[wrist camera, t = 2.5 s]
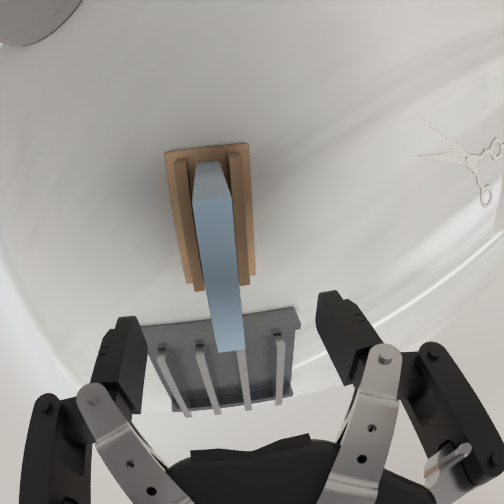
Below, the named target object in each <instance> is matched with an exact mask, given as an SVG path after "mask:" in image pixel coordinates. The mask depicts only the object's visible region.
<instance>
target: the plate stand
mask: <svg viewBox="0 0 504 504" xmlns="http://www.w3.org/2000/svg"><path fill="white" fill-rule="evenodd" d="M164 155H165V163H166V170H167V177H168V184H169V191H170V197H171V204H172V210H173V216H174V222H175V227H176V233H177V238H178V244H179V249H180V254H181V259H182V264H183V269H184V274H185V278H186V283H187V284H188V283H193V285H194V290H195V292H197V291H205V285H204V276H203V270H202V264H201V258H200V252H199V246H198V239H197V233H196V226H195V219H194V212H193V205H192V198H193V188H194V179H195V171H196V163H202V162H211V161H219V163H220V166H221V168H222V171H223V174H224V177H225V180H226V183H227V186H228V188H229V191H230V194H231V197H232V209H233V221H234V233H235V244H236V255H237V266H238V277H239V284H240V286H243V285H250V278H249V276H250V275H256V273H255V254H254V235H253V216H252V197H251V179H250V160H249V144H247V143H240V144H228V145H218V146H208V147H200V148H192V149H184V150H177V151H171V152H166V153H165V154H164Z"/></svg>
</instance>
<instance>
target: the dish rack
mask: <svg viewBox="0 0 504 504" xmlns="http://www.w3.org/2000/svg"><path fill="white" fill-rule="evenodd" d="M242 319H243V329H244V339H245V349H242V350H236V351H228V352H221V353H218V349H217V344H216V339H215V335H214V330H213V325H212V320H202V321H194V322H185V323H176V324H166V325H155V326H144V327H141V330H142V332H143V335H144V337H145V339H146V342H147V348H148V355H149V357H150V359H151V361H152V363H153V365H154V367H155V369H156V371H157V373H158V375H159V377H160V379H161V381H162V383H163V385H164V387H165V389H166V391H167V393H168V394H169V396H170V398H171V400H172V411H173V412H183V413H184V415H185V417H192V411H197V410H208V409H213V410H214V413H215V415H219V414H221V408H226V407H234V406H241V405H244V406H245V411H249V410H252V407H251V404H254V403H259V402H265V401H270V400H274V402H275V405H276V406H277V405H281V404H282V398H285V397H290V396H293V391H292V388H291V385H290V382H291V372H292V361H293V350H294V338H295V330H297V329H300V326H301V322H300V320H299V318H298V316H297V314H296V311H295V309H294V307H290V308H285V309H279V310H273V311H267V312H260V313H254V314H247V315H242Z"/></svg>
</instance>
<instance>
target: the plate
mask: <svg viewBox="0 0 504 504" xmlns="http://www.w3.org/2000/svg"><path fill="white" fill-rule="evenodd" d="M192 205H193V212H194V219H195V226H196V233H197V239H198V246H199V252H200V258H201V264H202V270H203V276H204V282H205V288H206V293H207V299H208V304H209V309H210V314H211V320H212V325H213V330H214V335H215V339H216V344H217V349H218V353H221V352H228V351H236V350H242V349H245V339H244V329H243V319H242V309H241V299H240V288H239V277H238V266H237V255H236V244H235V233H234V221H233V209H232V197H231V194H230V191H229V188H228V186H227V183H226V180H225V177H224V174H223V171H222V168H221V166H220V163H219V161H211V162H202V163H196V171H195V179H194V188H193V198H192Z"/></svg>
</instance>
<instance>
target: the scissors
mask: <svg viewBox="0 0 504 504" xmlns="http://www.w3.org/2000/svg"><path fill="white" fill-rule="evenodd" d="M424 121H425V120H424ZM425 122H426V123H427V124H428V125H429V126H430V127H431V128H432V129H433V130H434V131H435V132H436V133H437V134H439V135H440V136H441V137H442V138H443V139H444V140H446V141H447V142H448V143H449V144H450V145H451V146H452V147H454V148H455V149H457V150H458V151H459V152H461V153H462V154H437V155H425V156H416V157H422V158H428V159H434V160H440V161H445V162H450V163H457V164H463V165H466V166H467V167H468V168H469V169H470V170H471V171H472V172H473V174H474V175H475V176H476V179H477V185H478V186H480V201H481V204H482V206H483V207H485V208H486V207H488V206H489V205H490V204H491V202H492V197H493V192H492V189H491V187H490V185H489V184H487V185H486V186H483V185H482V184H481V182H480V179H479V175H478V169H477V166H476V163H477V162H478V161H479V160H480V159H481V158H482V157H483V156H484V155H485V154H487V153H489V154H491V156H492V159H493V161H497V160H498V159H499V158H500V156H501V154H502V149H503V148H504V143H502V142H501V141H500V139H498V138H494V139H493V140H492V142H491V144H490V147H489V148H488V149H487V150H486V149H484V150H483V151H482V153H481V154H480V155H474V154H467V153H466V152H465V151H464V150H463V149H462V148H460V147H459V146H458V145H457V144H456V143H455V142H454V141H453V140H451V139H450V138H449V137H448V136H446V135H445V134H444V133H442V132H441V131H440V130H438V129H437V128H436V127H434V126H433V125H432V124H430V123H428V122H427V121H425ZM496 142H498V143H499V147H500V150H499V154H498V155H497V156H495V155H494V152H493V147H494V144H495V143H496ZM485 190H488V191H489V193H490V198H489V201H488V203H487V204H484V202H483V195H484V192H485Z"/></svg>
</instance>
